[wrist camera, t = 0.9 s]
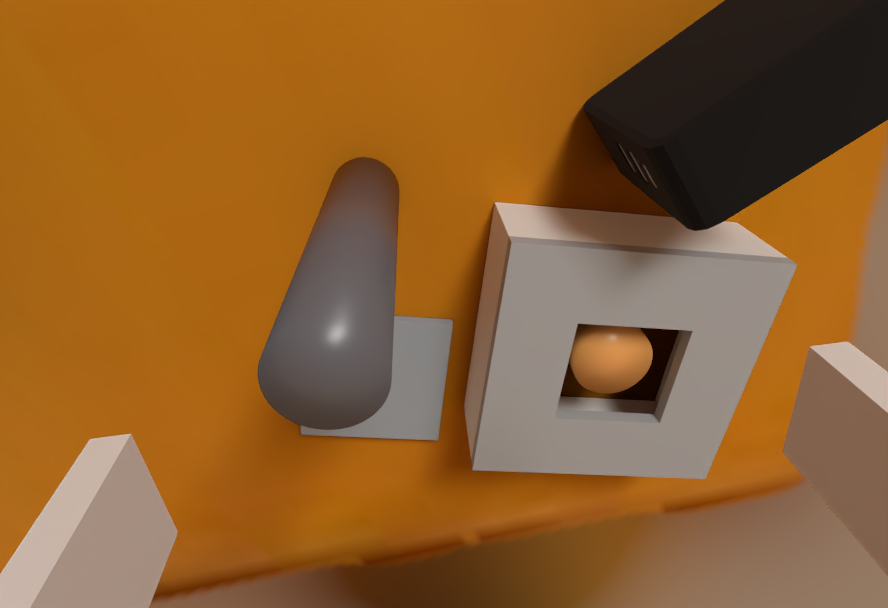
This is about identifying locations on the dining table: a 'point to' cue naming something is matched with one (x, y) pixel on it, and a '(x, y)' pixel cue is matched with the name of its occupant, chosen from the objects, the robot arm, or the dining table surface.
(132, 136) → the dining table surface
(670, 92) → the electronic device
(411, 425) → the pad
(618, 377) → the button
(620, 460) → the box
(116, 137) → the dining table surface
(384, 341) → the stylus
